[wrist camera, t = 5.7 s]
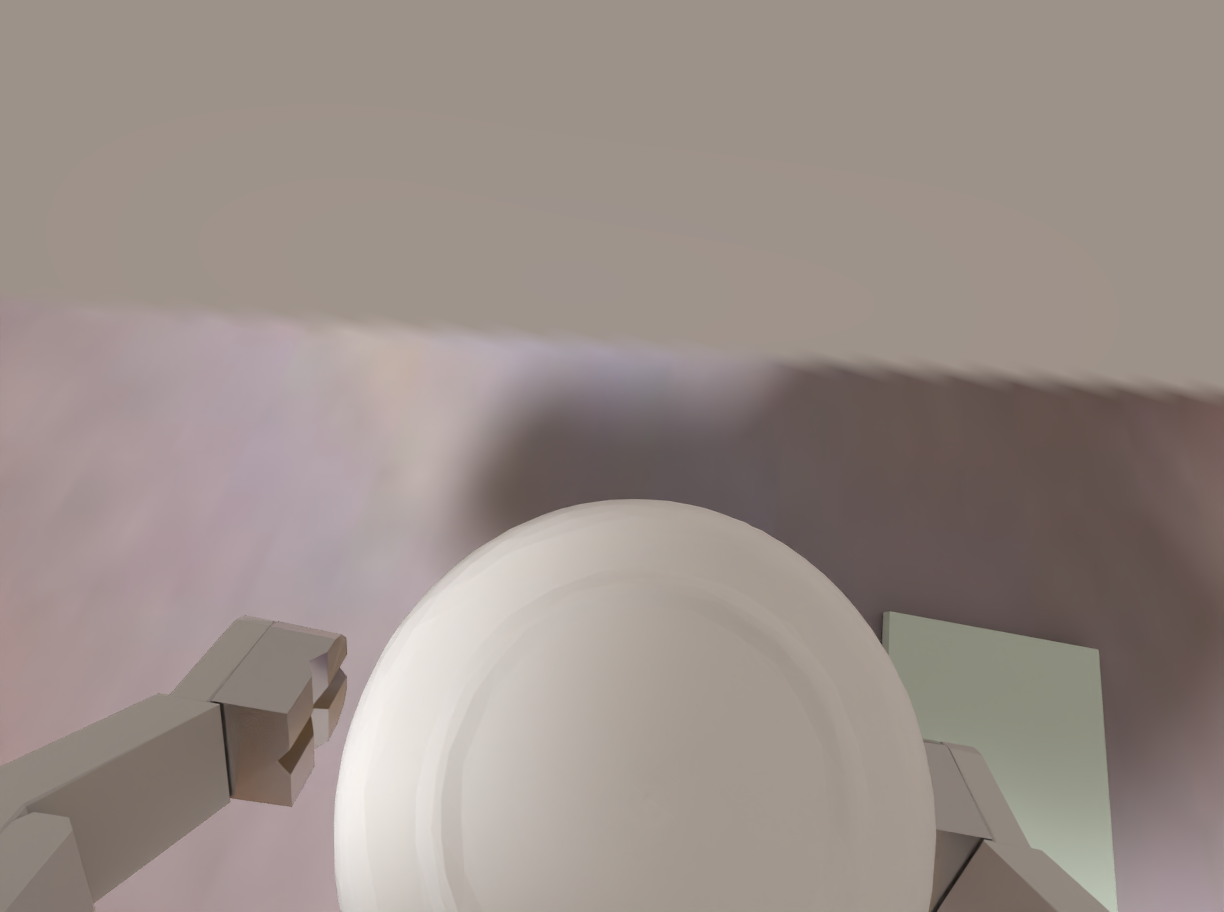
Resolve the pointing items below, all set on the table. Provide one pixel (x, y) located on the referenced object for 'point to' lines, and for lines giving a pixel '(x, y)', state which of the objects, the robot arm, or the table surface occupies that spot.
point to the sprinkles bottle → (634, 733)
